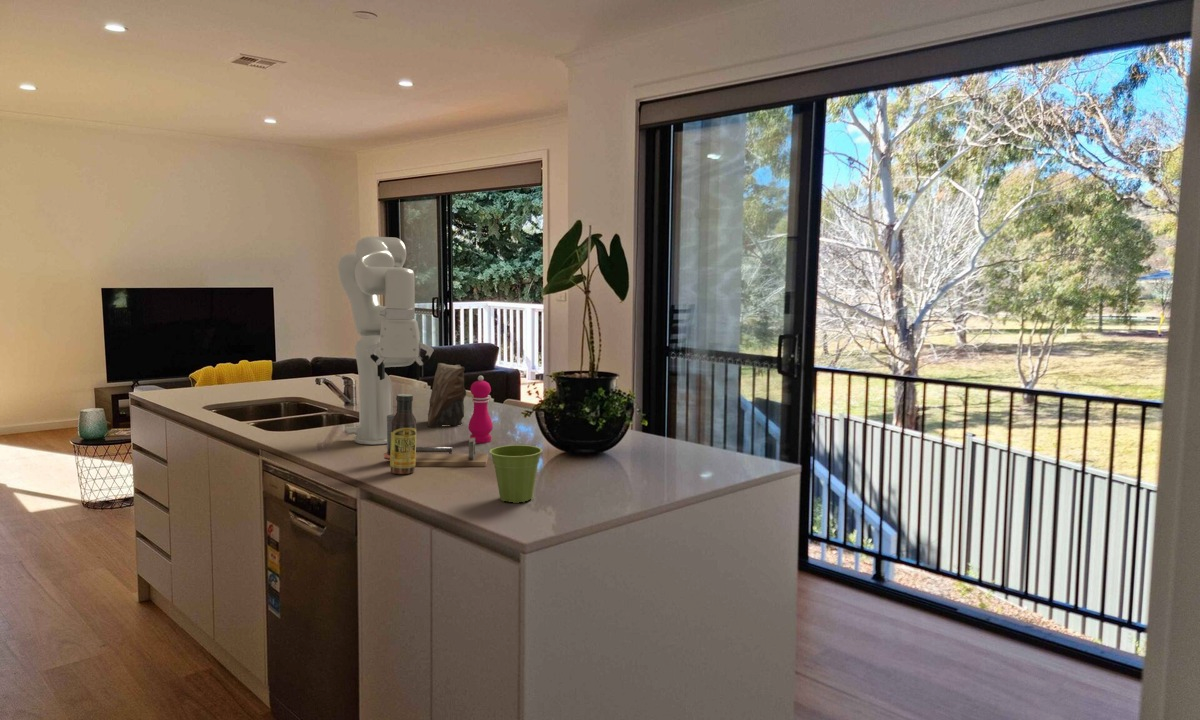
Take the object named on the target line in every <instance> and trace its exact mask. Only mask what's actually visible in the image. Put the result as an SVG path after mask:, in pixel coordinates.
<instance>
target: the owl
mask: <svg viewBox="0 0 1200 720" xmlns="http://www.w3.org/2000/svg"><path fill="white" fill-rule="evenodd" d="M436 366H437V368H436V371H435V374H434V380H433V383H432V390H431V393H430V398H429V407H428V413H427V427H428V426H442V425H461V424H463V421H462V420H463V418H464V417H465V405H464V403H465V402H464V401H465V398H466V395H467V390H466V388H465V374H464V373H465V370H466V369H465V367H464V366H461V364H455V365H453V364H447V363H443V362H438V363H437V365H436Z"/></svg>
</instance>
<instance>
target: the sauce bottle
mask: <svg viewBox="0 0 1200 720" xmlns="http://www.w3.org/2000/svg"><path fill="white" fill-rule="evenodd" d="M395 399H396V413H395V414H396V415H395V416H394V418H393V420H392V431H391V451H390V460H389V466H390V472H391V474H393V475H401V476H402V475H410V473H411V474H413V473H414V472H415V467H416V466H415V461H416V454H417V452H416V447H417V419H416V417H415V416H414V414H413V401H414V395H413V394H409V393H399V394H396V398H395Z"/></svg>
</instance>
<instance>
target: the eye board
mask: <svg viewBox="0 0 1200 720" xmlns="http://www.w3.org/2000/svg"><path fill="white" fill-rule="evenodd" d="M488 461H489V453H476V443H475V438H471V439H470V438H469V441H468V453H452V454H449V453H416V461H415V467H486V466H487V463H488ZM451 465H452V466H451Z"/></svg>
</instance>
